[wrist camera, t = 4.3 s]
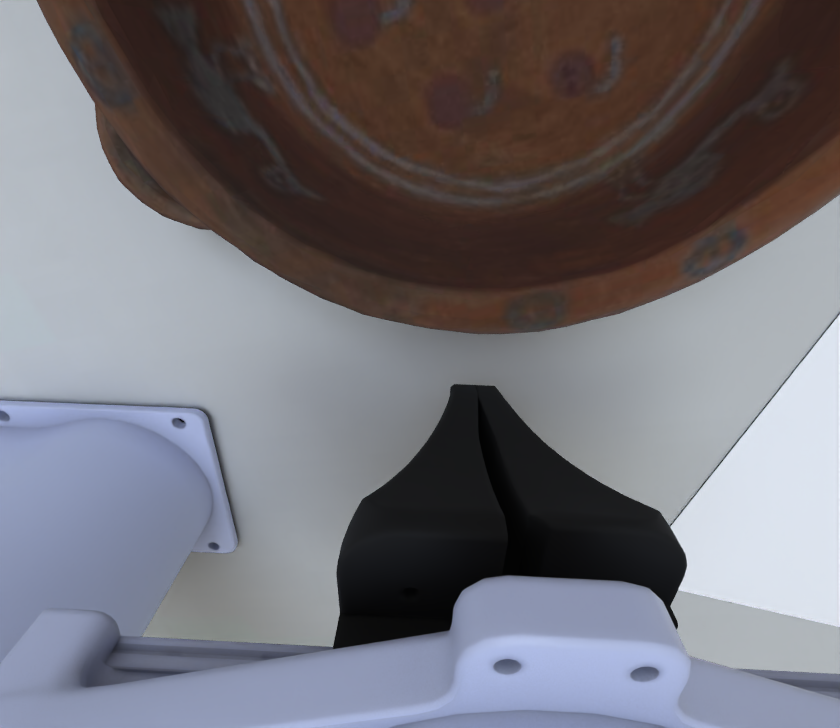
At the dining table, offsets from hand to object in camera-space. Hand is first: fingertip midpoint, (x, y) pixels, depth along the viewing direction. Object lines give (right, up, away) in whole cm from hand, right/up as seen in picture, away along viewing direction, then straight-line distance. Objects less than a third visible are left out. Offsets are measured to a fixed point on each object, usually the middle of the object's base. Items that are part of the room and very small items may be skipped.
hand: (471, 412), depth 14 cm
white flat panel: (+21, -3, +4) cm, 22 cm away
